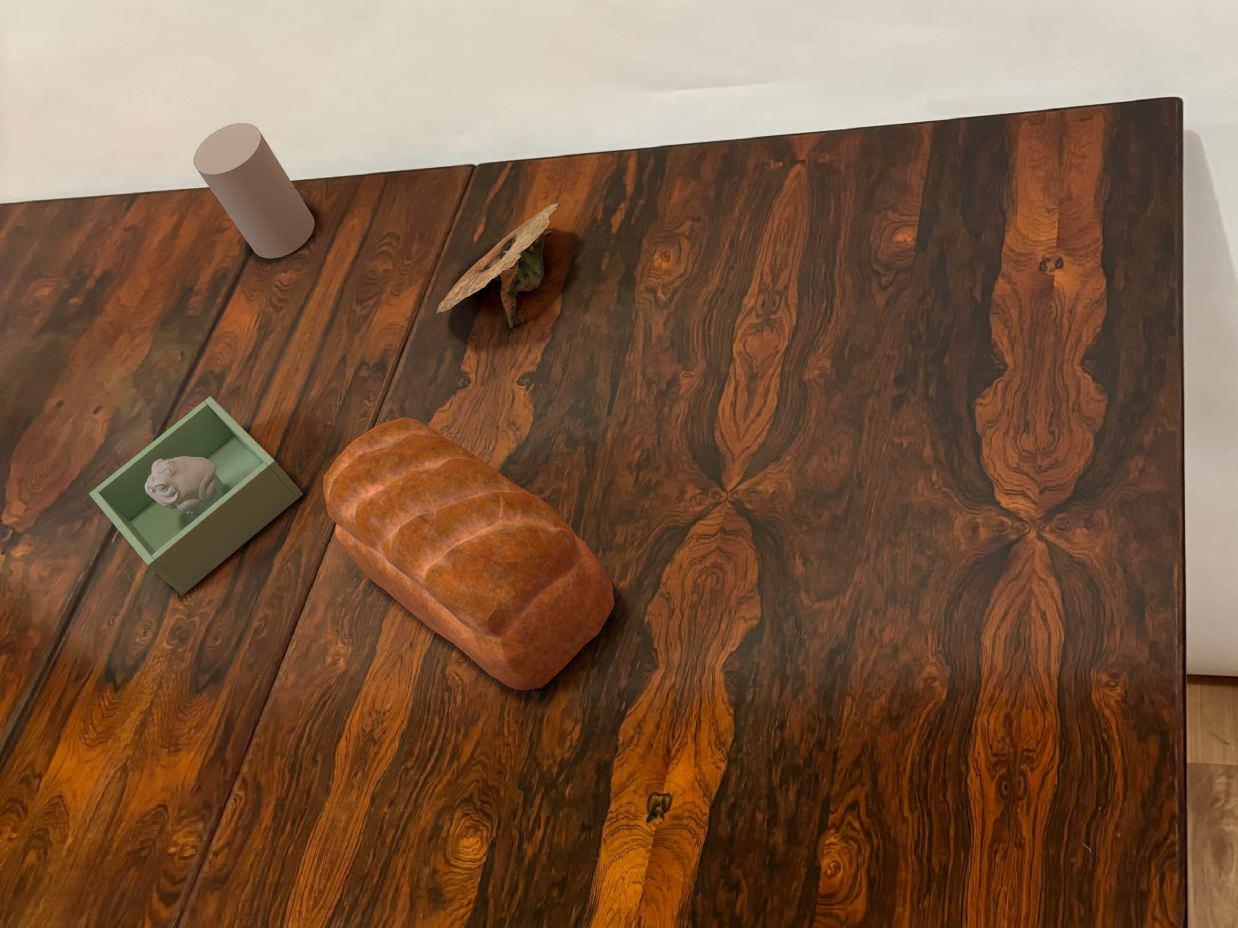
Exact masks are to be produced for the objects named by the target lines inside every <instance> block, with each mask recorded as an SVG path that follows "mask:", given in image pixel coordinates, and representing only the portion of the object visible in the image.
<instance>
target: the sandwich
mask: <svg viewBox="0 0 1238 928" xmlns="http://www.w3.org/2000/svg"><path fill="white" fill-rule="evenodd" d="M560 206H561V203H560V202H555V203H552V204H549V205H548V206H546V207H545V208H544V209H542V210H541V211H539V212H537V213H536V214H535V215H534V216H532V217H530V218H529V219H528V220H526V221H525V222H523V223H521V224H520V225H519V226H517V227H516V228H514V230H513V231H511V232H510V233H509V234H507V235H506V236H505V237H503V238H502V239H501V240H500V241H499V242H497V243H496V244H495V246H493V247H492V248H491V250H489V251H488V252H487V253H486V254H485V255H484V256H482V257H481V258H480V259H479V260H478V261H477V262H475V263H474V264H473V265H472V266H471V267H470V268H469V269H468V270H467V271H466V272H465V273H464V274H463V275H462V276H461V277H460V278H459V279H458V281H457V282H456V283H455V284H454V285H453V286H452V288H451V290H450V291H448V293H447V294H446V296H445V297H444V299H443V300H441V302H440V303H439V304H438V306H437V308H436V313H444V312H446V311H449V310H451V309H452V308H453V307H455V306H456V305H457V304H459V303H460V302H461V301H462V300H464V299H466V298H468V297H471V296H472V295H473V294H475V293H477V292H478V291H480V290H482V289H483V288H485V287H486V286H487V285H488V283H490V281H491V280H492V279H496V280H498V281H501V285H500V298H501V299H500V300H501V304H502V308H503V311H504V315H505V317H506V319H507V321H508V327H509V328H510V329H512V328H513V327H514V326H515V321H516V315H515V314H516V313H515V312H516V308H517V294H518V293H519V292H531V291H534V290H536V289H538V288H539V287H540V286H541V283H542V279H543V278H544V274H545V273H544V267H545V266H544V256H543V255H544V254H543V253H544V244H545V241H544V239H541V240H539V237H540V236H541V235H542V238H547V237H551V236H553V235H554V231H552V230H546V229H547V228H548V227H549V224H550V223H551V221H550V218H549V217H550V216H551V215H552V214H553V213H554V211H556V210H557V209H558V207H560ZM544 230H546V231H544ZM533 243H534V245H535V246H533ZM526 249H528V250H527V252H526V251H525V250H526Z"/></svg>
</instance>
